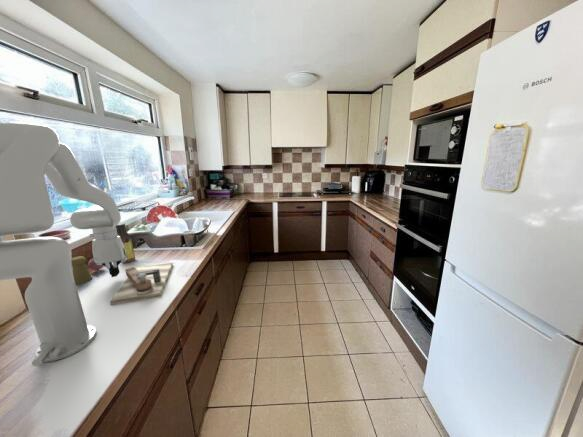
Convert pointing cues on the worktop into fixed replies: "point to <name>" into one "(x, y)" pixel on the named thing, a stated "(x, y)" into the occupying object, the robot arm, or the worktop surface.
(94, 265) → the vegetable
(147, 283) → the link
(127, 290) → the pivot board
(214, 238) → the worktop surface
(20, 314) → the worktop surface
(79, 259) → the olive green tapered block
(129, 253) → the sauce bottle
